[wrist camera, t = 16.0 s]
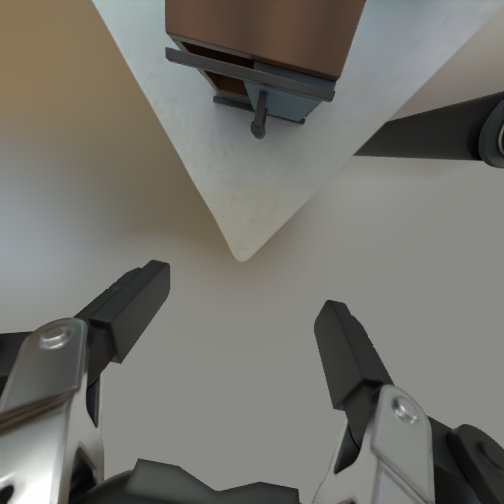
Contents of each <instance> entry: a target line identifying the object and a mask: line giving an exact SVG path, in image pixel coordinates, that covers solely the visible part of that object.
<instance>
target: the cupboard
mask: <svg viewBox="0 0 504 504" xmlns="http://www.w3.org/2000/svg"><path fill="white" fill-rule="evenodd" d="M365 2H366V0H165V27H166V33H167V34H168V35H169V37H170V38H171V39H172V40H173V41H174V43H175V44H176V45H177V46H178V47H179V48H180V50H181V51H179V50H176V49H172V48H168V47H166V58H167V59H168V60H169V61H171V62H174V63H178V64H182V65H186V66H190V67H194V68H197V69H198V70H199V72H200V73H201V74H202V75H203V76H204V77H205V78H206V80H207V81H208V82H209V83H210V84H211V85H212V87H213V88H214V89H215V90H217V91H221V92H225V93H229V94H233V95H237V96H241V97H245V98H249V96H248V93H247V90H246V87H245V85H244V82H243V80H244V81H248V82H252V83H256V84H260V85H264V86H268V87H272V88H276V89H279V90H283V91H287V92H291V93H295V94H299V95H303V96H307V97H311V98H314V99H318V100H319V101H318V103H317V104H316V105H315V106H314V107H313V108H312V109H311V110H310V111H309V112H308V113H307V114H306V115H305V117H306V116H307V115H308V114H309V113H311V112H312V111H313V110H314V109H315V108H316V107H317V106H318V105H319V104H320V103H321V102H322V101H326V102H331V101H332V100H333V97H334V94H335V91H334V87H335V84H336V81H337V80H338V79H339V78H340V76H341V73H342V70H343V67H344V64H345V61H346V58H347V56H348V53H349V50H350V47H351V44H352V41H353V38H354V35H355V32H356V29H357V26H358V23H359V20H360V17H361V14H362V11H363V8H364V5H365ZM249 99H250V98H249ZM213 101H214V102H215V103H219V104H223V105H227V106H231V107H235V108H239V109H243V110H247V111H251V112H255V113H256V111H255V110H254V109H253V107H252V105H248V104H244V103H240V102H236V101H232V100H228V99H224V98H220V97H216V96H214V98H213ZM267 116H271V117H275V118H279V119H283V120H287V121H291V122H295V123H299V124H304V122H305V119H303V118H302V119H301V120H300V121H299V122H298V121H294V120H290V119H286V118H283V117H279V116H275V115H271V114H267Z"/></svg>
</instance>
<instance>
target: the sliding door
mask: <svg viewBox="0 0 504 504" xmlns="http://www.w3.org/2000/svg"><path fill="white" fill-rule="evenodd" d="M243 82H244V85H245V87H246V90H247V93H248V96H249V98H250V101H251V104H252V107H253V109H254V110H255V111H256V114H255V119H254V121H253V122H252V123H251V132H252V133H253V135H254V136H255V137H256V138H257V139H263V138H264V137H265V134H266V131H265V122H266V117H267V114H271V115H275V116H279V117H283V118H286V119H290V120H294V121H298V122H299V121H300V120H301V119H302V118H303V117H304V116H305V115H306V114H307V113H308V112H309V111H310V110H311V109H312V108H313V107H314V106H315V105H316V104H317V103H318V101H319V100H318V99H314V98H311V97H307V96H303V95H299V94H295V93H291V92H287V91H283V90H279V89H276V88H272V87H268V86H264V85H260V84H256V83H252V82H248V81H244V80H243Z"/></svg>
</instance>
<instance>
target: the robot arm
mask: <svg viewBox="0 0 504 504" xmlns="http://www.w3.org/2000/svg"><path fill="white" fill-rule="evenodd" d="M496 148H497V150H498V152H499V154H500V155H501V156H503V157H504V120H503V122H502V123H501V125H500V127H499V130H498V133H497V137H496ZM169 291H170V265H169V263H165V262H161V261H156V260H151V261H150V262H149V263H148V264H146V265H145V266H144V267H143V268H136V269H134V270H131V271H129V272H127V273H125V274H124V275H123V276H122V277H121V278H119V279H118V280H117V282H115V283H114V284H112V285H111V286H110V287H109V289H106V290H105V291H104V292H103V293H102V294H100V295H99V296H98V297H97V298H96V299H94V300H93V301H92V302H91V303H90V304H89V305H88V306H86V307H85V308H84V309H82V310H81V311H80V312H79V313H78V314H77V315H75V316H74V317H73V318H63V319H59V320H55V321H52V322H49V323H47V324H45V325H43V326H41V327H39V328H38V329H36V330H35V331H32V332H19V333H4V334H0V504H301V503H300V502H299V491H298V489H295V488H290V487H285V486H280V485H275V484H269V483H264V482H256V483H252V484H248V485H244V486H240V487H235V488H231V489H227V490H223V491H215V490H213V489H211V488H210V487H208V486H207V485H205V484H204V483H202V482H201V481H200V480H198V479H197V478H195V477H194V476H192V475H191V474H189V473H188V472H186V471H185V470H183V469H182V468H181V467H179V466H175V465H170V464H165V463H160V462H154V461H149V460H144V459H138V460H137V463H136V465H135V467H134V469H133V470H128V471H125V472H122V473H120V474H117V475H115V476H113V477H111V478H109V479H107V480H105V481H104V447H103V440H102V397H103V370H104V369H105V368H106V366H107V365H108V364H109V362H115V363H120V364H121V363H122V361H123V360H124V359H125V357H126V356H127V354H128V353H129V352H130V350H131V349H132V347H133V346H134V344H135V343H136V341H137V340H138V339H139V337H140V336H141V334H142V333H143V332H144V330H145V329H146V327H147V326H148V324H149V323H150V322H151V320H152V319H153V317H154V316H155V314H156V313H157V312H158V310H159V309H160V307H161V306H162V305H163V303H164V302H165V300H166V299H167V297H168V294H169ZM314 333H315V337H316V341H317V345H318V349H319V352H320V357H321V361H322V365H323V369H324V373H325V376H326V381H327V385H328V389H329V392H330V397H331V401H332V405H333V409H337V410H342V411H345V413H346V416H347V419H346V420H345V421H344V423H343V426H342V430H341V433H340V436H339V439H338V442H337V445H336V448H335V451H334V454H333V457H332V460H331V463H330V466H329V469H328V472H327V475H326V477H325V479H324V480H323V482H322V483H321V485H320V486H319V488H318V490H317V492H316V494H315V496H314V499H313V501H312V504H504V449H503V448H502V447H501V446H500V445H499V444H498V443H497V442H495V441H494V440H493V439H492V438H491V437H490V436H488V435H487V434H486V433H484V432H483V431H481V430H479V429H478V428H476V427H474V426H471V425H467V424H463V425H461V426H459V427H457V428H455V429H451V428H449V427H448V426H445V425H444V424H442V423H440V422H438V421H436V420H434V419H433V418H431V417H429V416H427V415H426V414H425V412H424V411H423V409H422V408H421V406H420V405H419V404H418V403H417V402H416V401H415V400H414V399H413V398H412V397H411V396H410V395H409V394H408V393H407V392H405V391H404V390H402V389H401V388H399V387H397V386H395V385H394V383H393V381H392V380H391V378H390V376H389V374H388V372H387V370H386V368H385V367H384V365H383V363H382V361H381V359H380V357H379V355H378V354H377V352H376V350H375V348H374V347H373V344H372V342H371V341H370V339H369V338H368V335H367V333H366V331H365V330H364V327H363V326H362V325H361V323H360V322H359V321H358V320H357V319H356V318H355V317H354V316H352V315H351V314H350V312H349V310H348V308H347V306H346V304H344V303H342V302H337V301H333V300H327V301H326V302H325V304H324V306H323V308H322V310H321V311H320V313H319V315H318V316H317V318H316V320H315V324H314Z"/></svg>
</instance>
